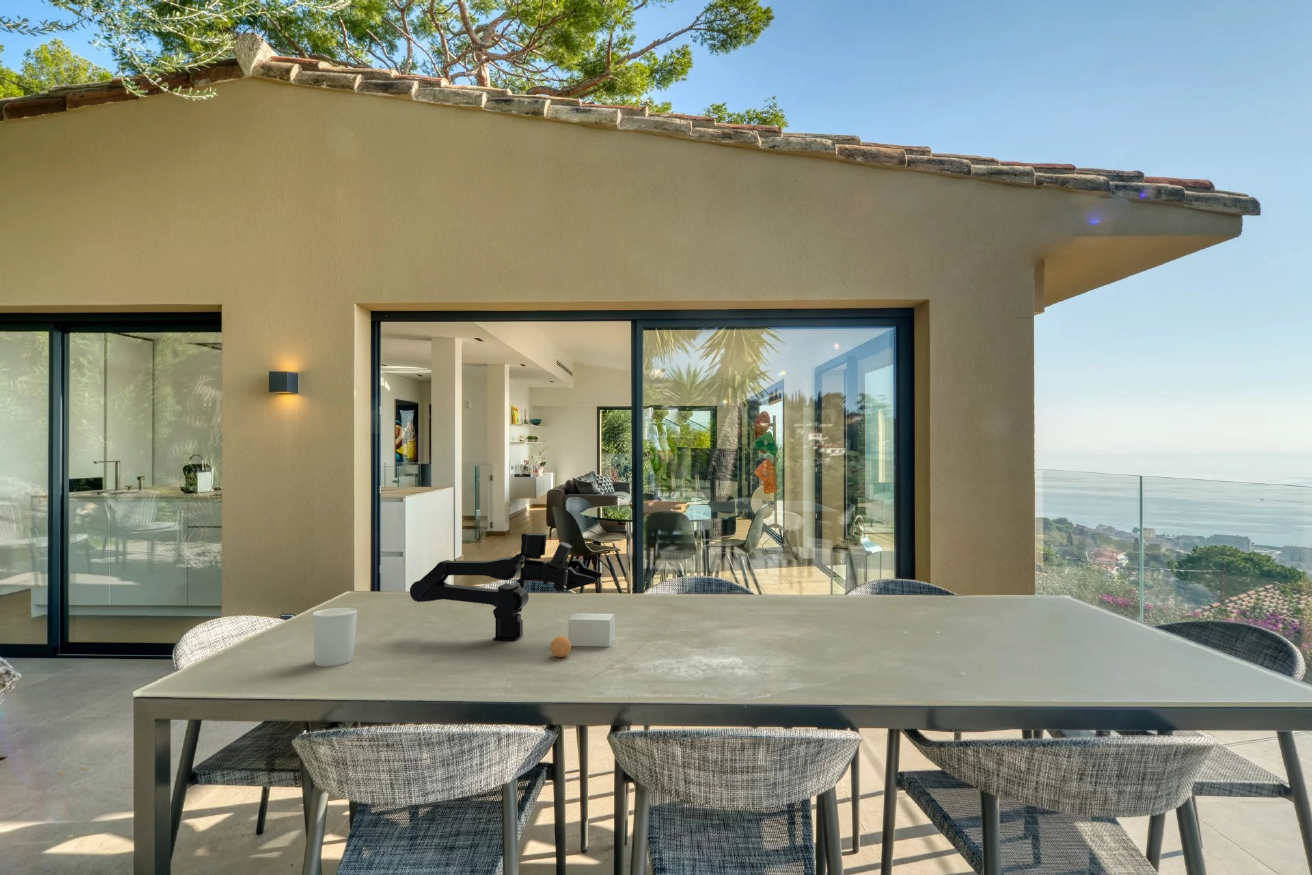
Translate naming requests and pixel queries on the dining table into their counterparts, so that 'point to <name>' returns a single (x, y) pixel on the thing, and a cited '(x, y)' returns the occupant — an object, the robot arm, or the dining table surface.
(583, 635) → the pale white box
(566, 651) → the ball
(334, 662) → the candle holder
